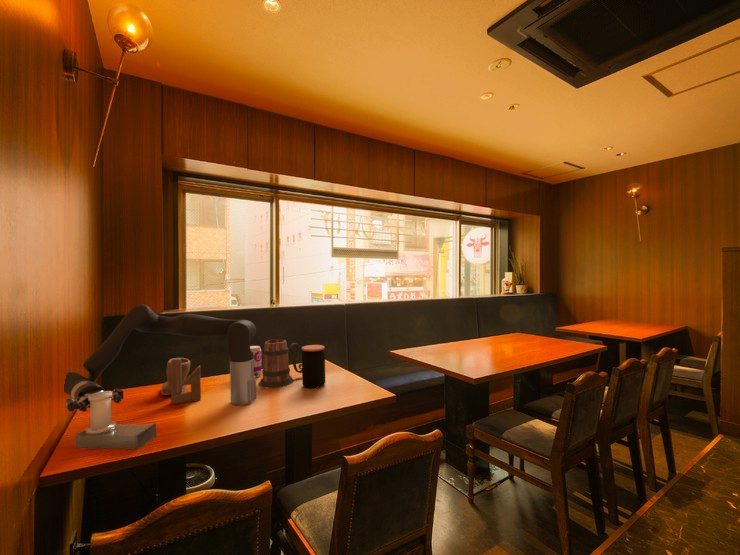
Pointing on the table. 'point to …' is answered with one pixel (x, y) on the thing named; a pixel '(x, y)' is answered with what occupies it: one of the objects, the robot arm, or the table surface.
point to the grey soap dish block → (116, 436)
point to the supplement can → (257, 360)
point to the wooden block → (177, 384)
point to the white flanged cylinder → (100, 409)
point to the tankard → (278, 364)
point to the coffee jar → (313, 366)
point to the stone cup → (168, 385)
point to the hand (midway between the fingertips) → (102, 404)
